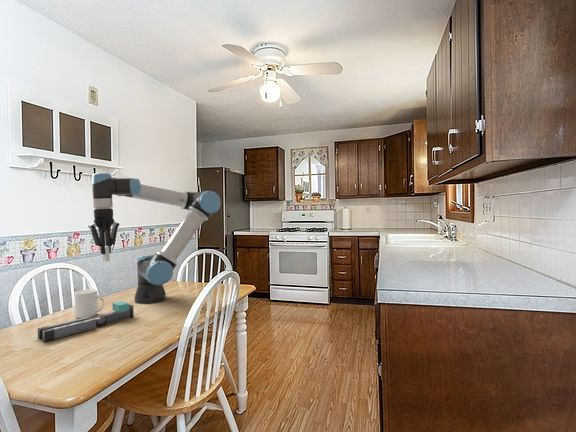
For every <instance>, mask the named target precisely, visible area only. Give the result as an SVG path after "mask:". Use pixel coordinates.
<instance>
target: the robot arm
mask: <svg viewBox="0 0 576 432" xmlns="http://www.w3.org/2000/svg"><path fill="white" fill-rule="evenodd" d="M91 181H92V182H91V187H92V198H93V199H92V200H93V202H92V203H93V208H94V210H93V216H94V220H93V223H91V224H89V225H88V226H87V227H88V228H89V230H90V231H91V234H92V238H93V241H94V244H95V246H97V247H100V254H101V255H102V260H103V261H102V262H105V263H107V262H110V258H111V257H110V254H111V253H112V248H111V247H113V245H115V244H116V239H117V234H118V233H117V232H118V228H119V226H120V223H119V222H116V221H115V219H114V209H113V207H114V203H113V196H117V197H125V198H132V199H137V200H143V201H149V202H153V203H154V202H155V203H160V204H166V205H171V206H177V207H179V208H180V209H183V210H188V212H187V215H186V216H185V217H184V219H183V220H182V221H181V223H180V224H179V225H178V227H177V229H175V231H174V232H173V234H172V235H171V236H170V238H169V239H168V241H167V242H166V244H165V245H164V246H163V248H162V249H161V250H159V251H156V252H155V254H151V255H150V254H149V255H140V256H138V257H137V261H136V264H137V288H136V291H135V294H134V298H133V299H134V303H137V304H152V303H158V302H162V301H164V300H166V298H167V293H166V290H165V288H164V285H165V284H167V283H168V282H169V281H171V279H172V278H173V274H174V269H175V268H176V267H177V266H178V264H177V260H178V259H179V257H180V255H182V253H183V251H184V250H185V248H186V247H187V245H188V244H189V243H190V241H191V240H192V238H193V237H194V236H195V234H196V232H197V231H198V230H199V229H200V227H201V225H202V224H203V222H206V221H209V219H210V218H211V217H212V215H213V214H214V213H216V212H218V211H219V210H220V208H221V203H222V202H221V198H220V196H219V195H218V194H217V192H216V191H215V192H214V191H212V190H203V191H196V192H195V191H193V192H192V191H186V190H185V191H183V192H181V191H176V190H172V189H171V190H170V189H166V188H161V187H157V186H151V185H146V184H141V181H140V179H139V178H134V177H130V178H129V177H128V178H127V177H125V178H121V177H120V178H118V177H117V178H116V177H112V175H111V174H110V173H107V172H106V173H105V172H104V173H102V172H97V173H93V174H92V176H91ZM97 228H98V229H97Z"/></svg>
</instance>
